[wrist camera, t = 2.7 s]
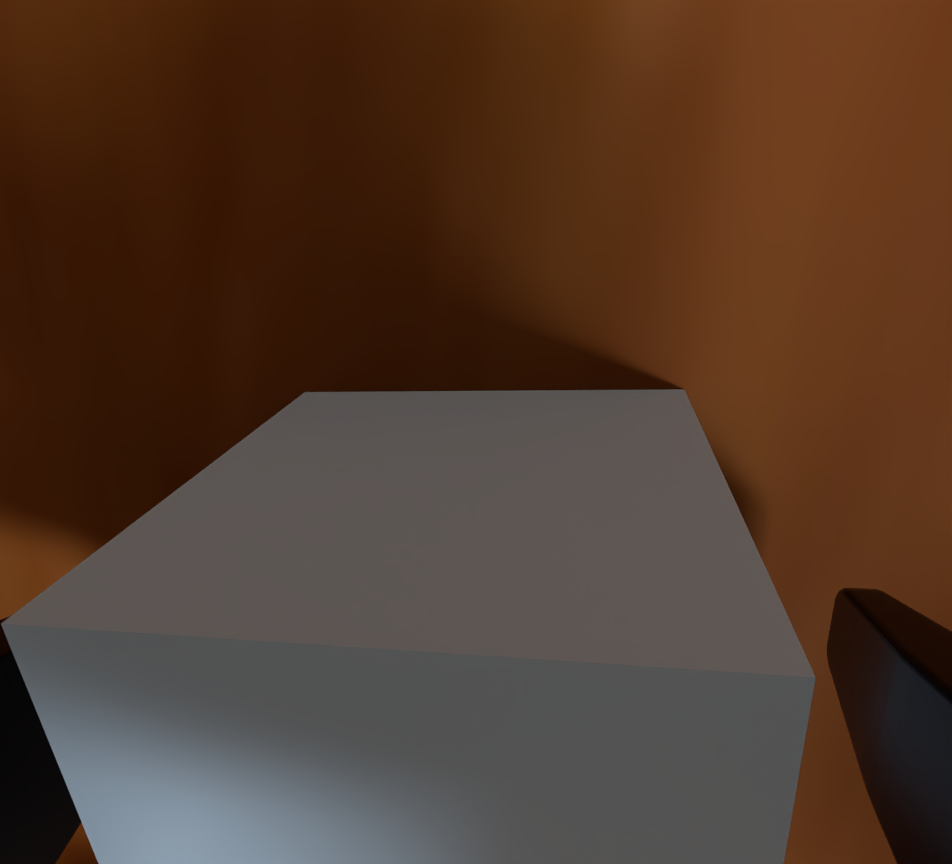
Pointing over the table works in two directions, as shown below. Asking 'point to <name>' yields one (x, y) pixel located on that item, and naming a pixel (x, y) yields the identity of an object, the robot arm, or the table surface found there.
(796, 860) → the table surface
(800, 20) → the table surface
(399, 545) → the bluish grey cube
